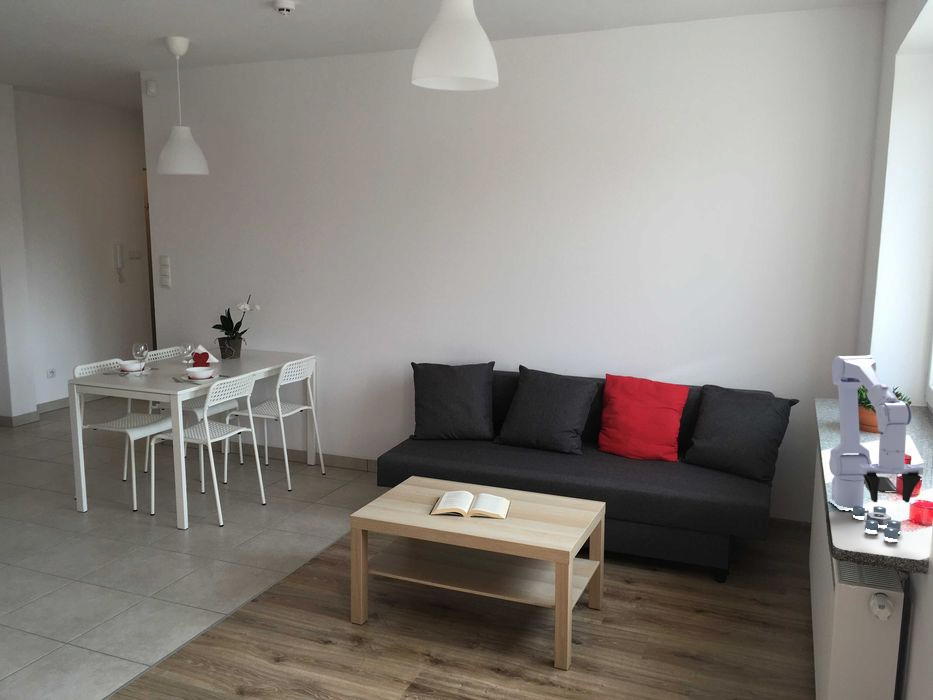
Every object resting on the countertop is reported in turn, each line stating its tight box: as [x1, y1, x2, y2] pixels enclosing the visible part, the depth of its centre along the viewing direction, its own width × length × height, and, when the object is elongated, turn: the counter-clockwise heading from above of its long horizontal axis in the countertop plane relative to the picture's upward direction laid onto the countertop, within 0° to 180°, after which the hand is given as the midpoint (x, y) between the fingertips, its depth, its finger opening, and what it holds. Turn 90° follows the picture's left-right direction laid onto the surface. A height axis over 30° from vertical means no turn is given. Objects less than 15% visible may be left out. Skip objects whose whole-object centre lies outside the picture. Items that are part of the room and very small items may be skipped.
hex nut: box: [866, 511, 892, 525], centre depth 204 cm, size 6×5×3 cm
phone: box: [864, 475, 897, 492], centre depth 239 cm, size 8×1×15 cm
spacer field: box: [852, 505, 902, 539], centre depth 201 cm, size 20×10×3 cm, turn 174°
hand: (889, 501), depth 194 cm, fingers open, 7 cm apart
